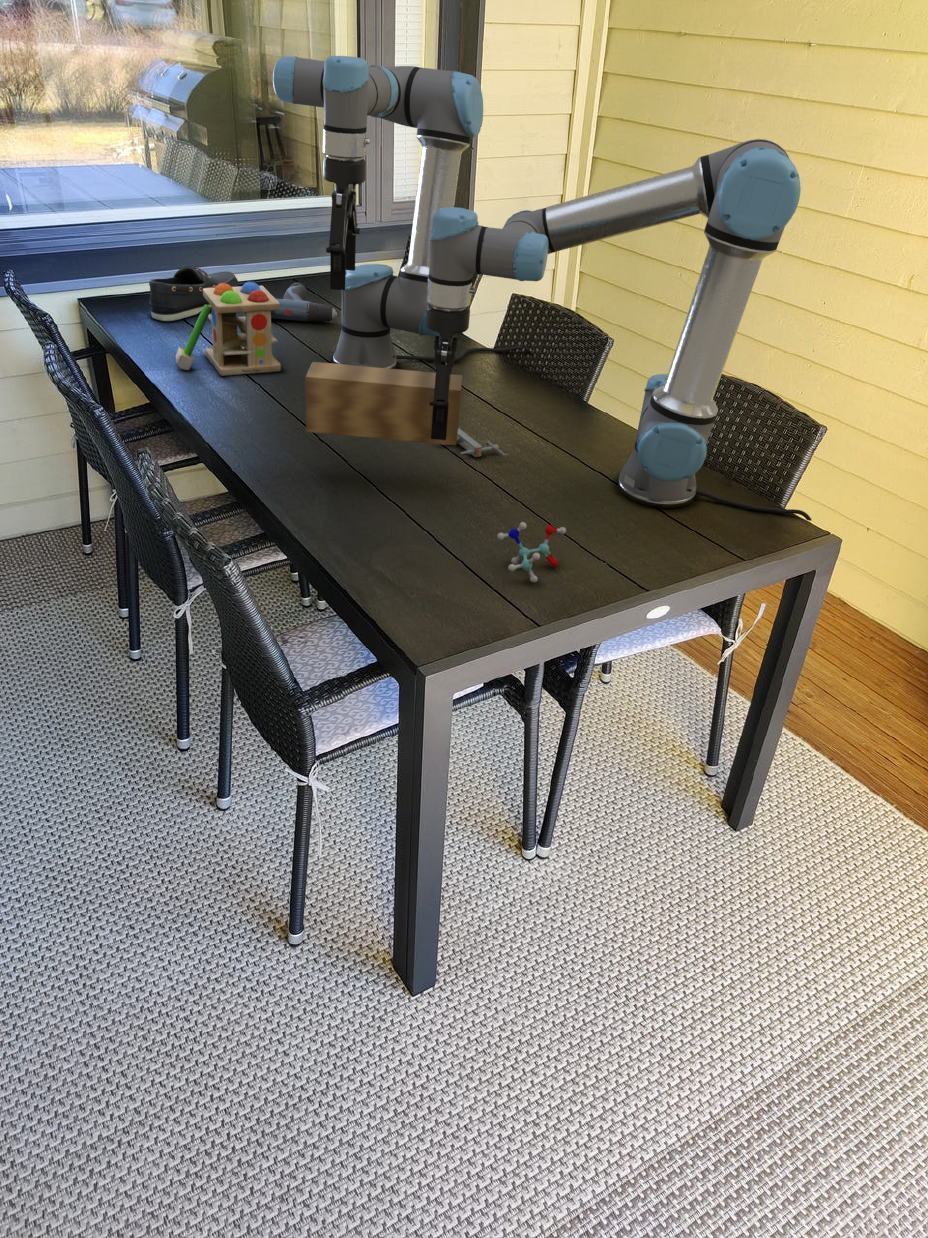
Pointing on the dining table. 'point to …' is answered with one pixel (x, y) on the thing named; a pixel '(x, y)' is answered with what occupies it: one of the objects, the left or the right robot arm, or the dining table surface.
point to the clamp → (475, 445)
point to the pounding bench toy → (229, 347)
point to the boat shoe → (184, 292)
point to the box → (377, 402)
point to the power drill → (301, 307)
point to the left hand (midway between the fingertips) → (343, 279)
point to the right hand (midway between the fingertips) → (439, 429)
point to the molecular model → (525, 552)
